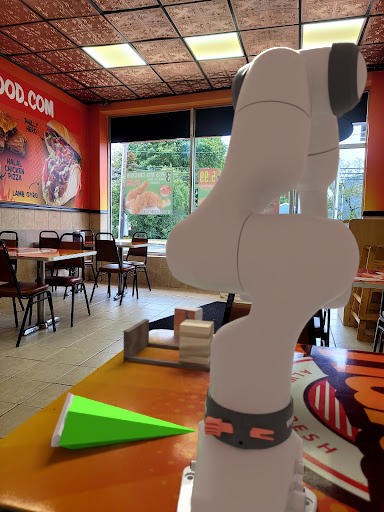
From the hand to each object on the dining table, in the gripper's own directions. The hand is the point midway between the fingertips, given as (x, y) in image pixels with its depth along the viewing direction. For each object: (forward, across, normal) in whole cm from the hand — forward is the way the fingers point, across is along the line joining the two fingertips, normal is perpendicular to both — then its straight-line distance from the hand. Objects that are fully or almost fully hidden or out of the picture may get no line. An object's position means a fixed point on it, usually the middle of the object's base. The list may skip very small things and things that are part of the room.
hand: (227, 285), depth 94 cm
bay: (+15, 0, +22) cm, 26 cm away
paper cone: (+13, +36, +22) cm, 44 cm away
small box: (+17, -20, +22) cm, 34 cm away
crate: (+8, 0, +21) cm, 22 cm away
